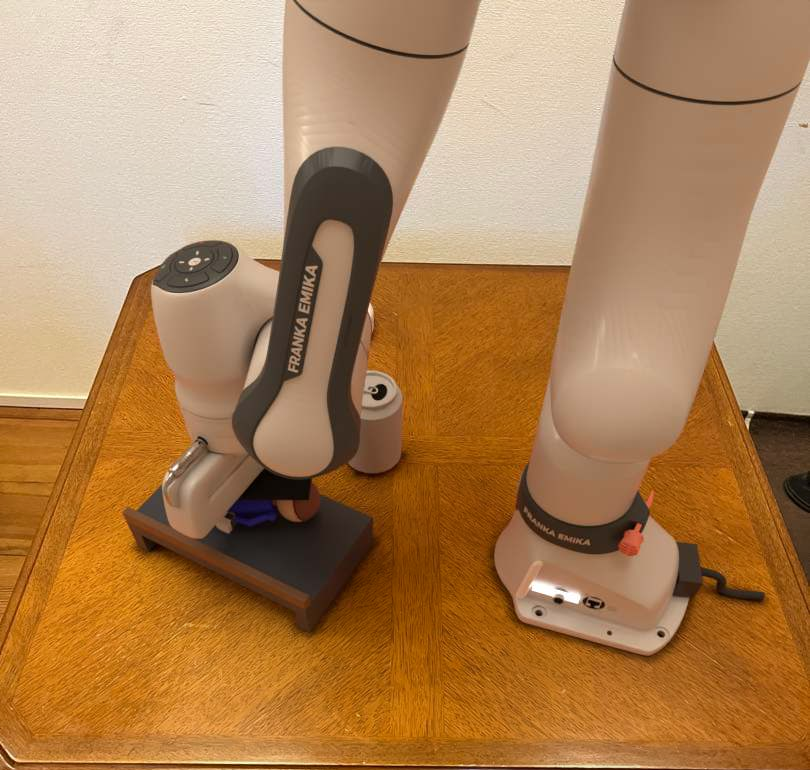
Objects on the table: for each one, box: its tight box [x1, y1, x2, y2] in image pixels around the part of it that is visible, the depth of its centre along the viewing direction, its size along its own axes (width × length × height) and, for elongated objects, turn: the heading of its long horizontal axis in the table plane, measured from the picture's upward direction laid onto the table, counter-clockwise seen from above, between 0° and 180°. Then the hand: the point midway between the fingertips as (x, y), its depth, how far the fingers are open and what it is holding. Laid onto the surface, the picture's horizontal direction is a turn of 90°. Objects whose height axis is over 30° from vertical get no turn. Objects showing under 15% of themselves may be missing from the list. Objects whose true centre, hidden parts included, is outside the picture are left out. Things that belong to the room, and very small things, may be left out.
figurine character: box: [227, 468, 321, 526], centre depth 81 cm, size 7×8×15 cm
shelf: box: [121, 482, 374, 634], centre depth 85 cm, size 24×14×7 cm, turn 62°
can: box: [347, 370, 403, 474], centre depth 91 cm, size 8×8×12 cm
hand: (251, 499), depth 82 cm, fingers closed on figurine character, 7 cm apart
